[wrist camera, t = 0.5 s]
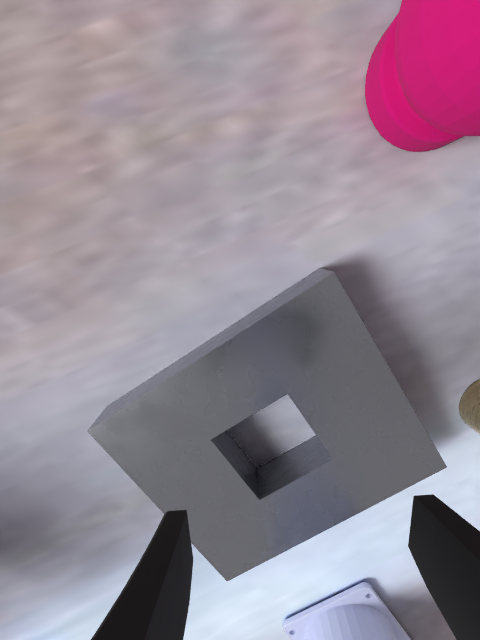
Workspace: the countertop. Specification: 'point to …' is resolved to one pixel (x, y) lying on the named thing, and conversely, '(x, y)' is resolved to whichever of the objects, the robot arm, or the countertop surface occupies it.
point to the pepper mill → (427, 75)
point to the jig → (253, 395)
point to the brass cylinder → (471, 406)
